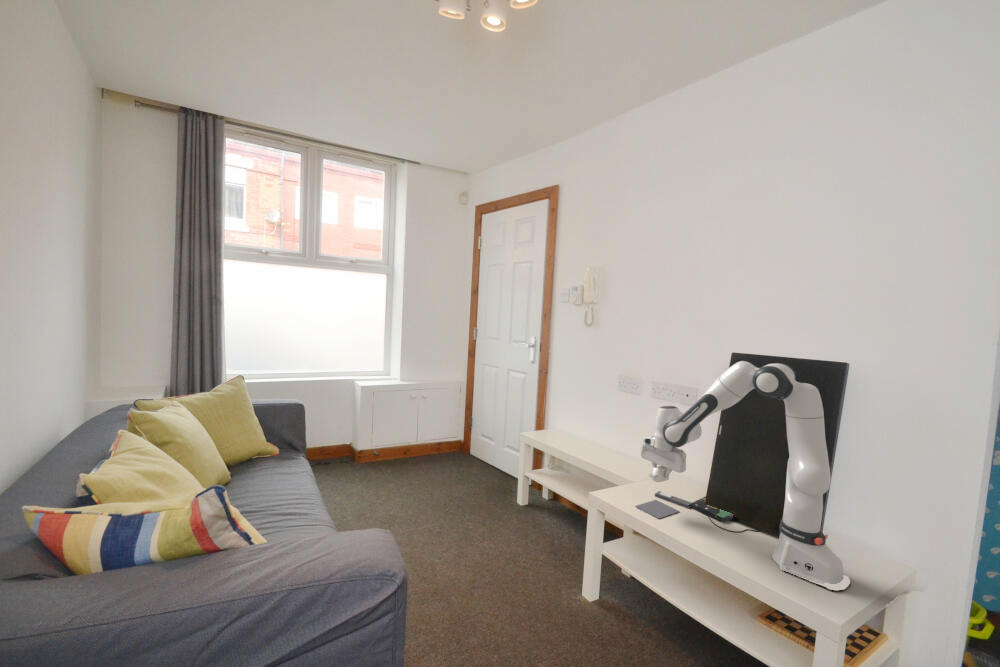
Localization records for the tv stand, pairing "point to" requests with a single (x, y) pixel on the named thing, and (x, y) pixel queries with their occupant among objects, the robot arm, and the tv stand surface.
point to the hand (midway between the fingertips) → (661, 475)
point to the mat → (657, 509)
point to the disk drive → (711, 511)
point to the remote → (673, 499)
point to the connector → (659, 474)
